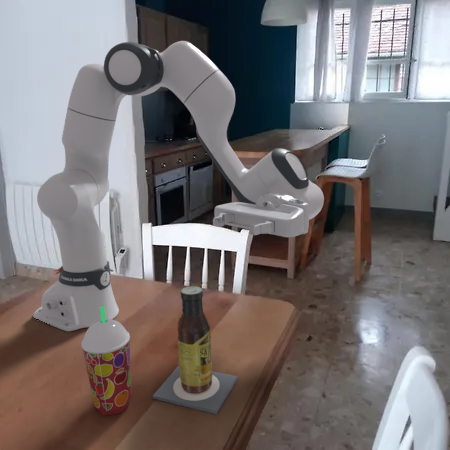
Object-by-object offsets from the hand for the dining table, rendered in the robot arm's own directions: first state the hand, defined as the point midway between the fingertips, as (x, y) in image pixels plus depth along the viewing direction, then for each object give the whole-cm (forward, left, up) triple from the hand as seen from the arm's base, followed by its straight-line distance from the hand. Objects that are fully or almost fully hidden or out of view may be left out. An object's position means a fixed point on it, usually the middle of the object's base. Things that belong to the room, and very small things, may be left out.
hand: (233, 226), depth 87 cm
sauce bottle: (-4, -11, -29) cm, 32 cm away
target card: (-4, -11, -30) cm, 32 cm away
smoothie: (-17, -21, -30) cm, 40 cm away
